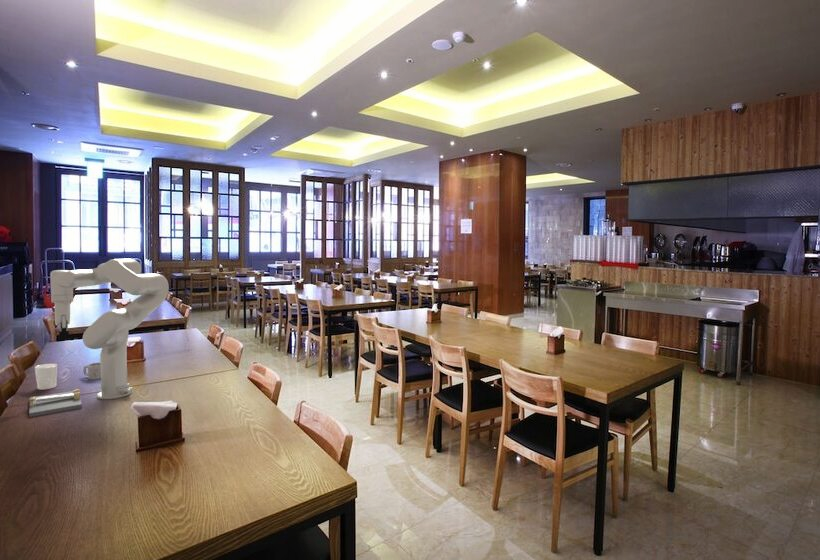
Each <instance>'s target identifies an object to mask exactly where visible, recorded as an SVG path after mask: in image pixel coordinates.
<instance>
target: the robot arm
mask: <svg viewBox="0 0 820 560" xmlns="http://www.w3.org/2000/svg"><path fill="white" fill-rule="evenodd" d="M141 272H142V265H141V263H140V262H139V261H137V260H136V259H134V258H133V259H132V258H114V259H109V260H108V261H106V262H103V263H100V264H99V265H97V267H95V268H89V269H72V270H67V269H56V270H55V269H54V270H52V271H50V276H49V277H50V278H49V279H50V295H51V299H50V300H51V303H52V304H53V303H54V321H55V322H54V325H55V326H58V325H59V332H58V336H59V341H60V342H61V341H69V340H70V337H69V326H68V325H70V323H71V303H72V302H74V288H76V289H77V288H83V287H94V286H98V285H105V284H110V283H113V284H114V285H116V286H117V287H119V288H120V289H121V290H123V291H124V292H126V293H128V294H129V295H132V296H137V297H136V298H134V299H133V300H132V302H130V303H129V304H128V305H126V306H125V307H122V308H118V309H112V310H109V311H106V312H104V313H102V314H101V315H100V316H99V317H98V318H97V319H96V320H95V321H94V322H92V323H91V324H90V325H89V326H88V327H87V328H86V329H85V331H84V332H83V335H82V343H83V344H84V346H85V347H86V348H88V349H90V350H99V349H101V351H100V354H99V355H100V356H99V360H100V362H99V363H100V367H101V379H100V388H101V391H99V392H98V393H97V394H96V395H97V396H96V397H97V399H100V400H112V399H113V400H114V399H120V398H123V397H127V396H129V395H131V394H132V393H133V391H134V389H135V388H134V387H132V386H130V383H128V365H127V364H128V363H127V360H128V359H127V357H128V356H127V355H128V354H127V353H128V352H127V347H128V342H129V341H128V340H129V331H130V330H133V329H135V328H137V327H138V326H139V325H140V324H141V323H142V322H143V321H145V320H146V319H147V318H148V317H149V316H150V315H151V314H152V313H153V312H154V311H156V310H157V309H158V308H159V307H160V306H161V305H162V304H163V303H164V301H165V300H166V299H167V297H168V294H169V291H170V289H169V287H170V286H169V282H168V279H167V278H166V277H165V275H162V274H159V273H156V272H155V273H153V272H152V273H141Z"/></svg>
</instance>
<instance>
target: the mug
mask: <svg viewBox="0 0 820 560" xmlns="http://www.w3.org/2000/svg"><path fill="white" fill-rule="evenodd" d="M83 375H84V376H87V377H88V380H101V367H100V362H93V363H89V364H88V365H84V366H83Z"/></svg>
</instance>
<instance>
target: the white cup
mask: <svg viewBox="0 0 820 560" xmlns="http://www.w3.org/2000/svg"><path fill="white" fill-rule="evenodd" d="M34 372H35V373H34V374H35V381H36V386H37V388H36V389H37V390H40V391H41V390H50V389H54V388H56V387H57V380H58V364H57V363H43V364H38V365H36V366H34Z"/></svg>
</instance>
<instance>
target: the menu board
mask: <svg viewBox="0 0 820 560" xmlns="http://www.w3.org/2000/svg"><path fill="white" fill-rule="evenodd" d="M71 393H74V398H65V399H57V400H49V401H40V402H36V397H45V396H54V395H62V394H71ZM82 407H83V403H82V400H81V392H80V389H79V388H78V389H73V390H69V391H64V392H57V393H52V394H51V393H50V394H45V395H39V396H29V409H28V410H29V411H28V414H29V418H32V416H33V417H37V416H44V415H49V414H54V413H61V412H66V411H72V410H77V409H82Z"/></svg>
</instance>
